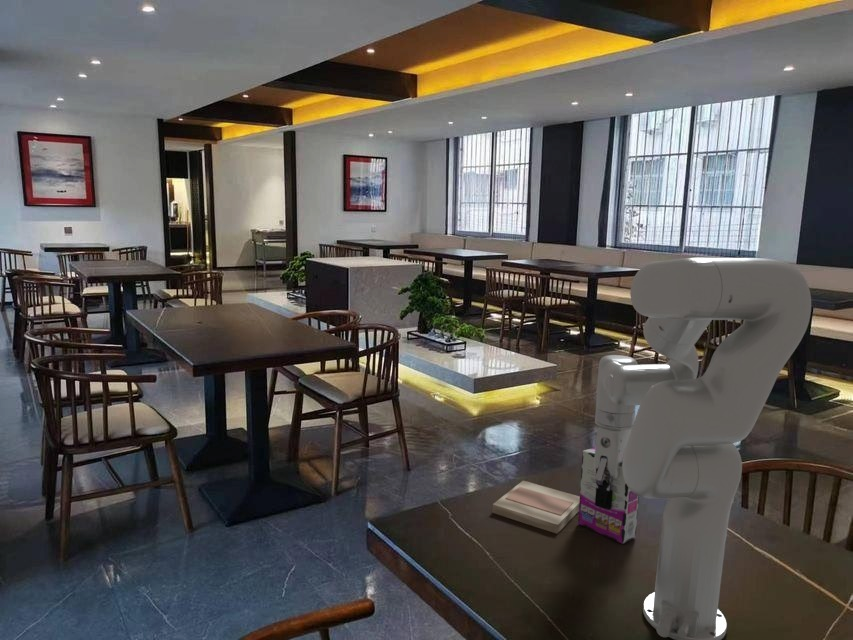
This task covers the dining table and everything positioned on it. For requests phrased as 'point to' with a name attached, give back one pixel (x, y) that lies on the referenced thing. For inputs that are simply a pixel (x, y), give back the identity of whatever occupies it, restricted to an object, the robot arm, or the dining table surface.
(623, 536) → the candy bar box
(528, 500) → the base board
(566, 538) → the dining table surface
